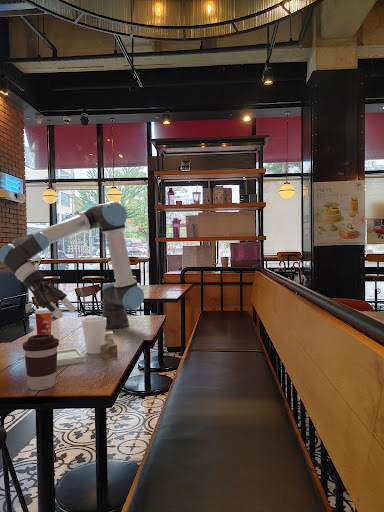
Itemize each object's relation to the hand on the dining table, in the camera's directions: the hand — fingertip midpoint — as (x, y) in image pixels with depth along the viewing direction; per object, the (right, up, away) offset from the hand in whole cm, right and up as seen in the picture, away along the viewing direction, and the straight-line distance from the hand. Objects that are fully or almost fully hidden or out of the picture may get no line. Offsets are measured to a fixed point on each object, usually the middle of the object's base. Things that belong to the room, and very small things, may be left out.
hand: (67, 313), depth 142 cm
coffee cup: (+5, -16, -36) cm, 40 cm away
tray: (+2, -15, -11) cm, 19 cm away
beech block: (+13, -15, +13) cm, 24 cm away
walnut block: (+18, -15, -8) cm, 25 cm away
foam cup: (+11, -15, 0) cm, 19 cm away
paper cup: (-18, -15, +20) cm, 31 cm away
